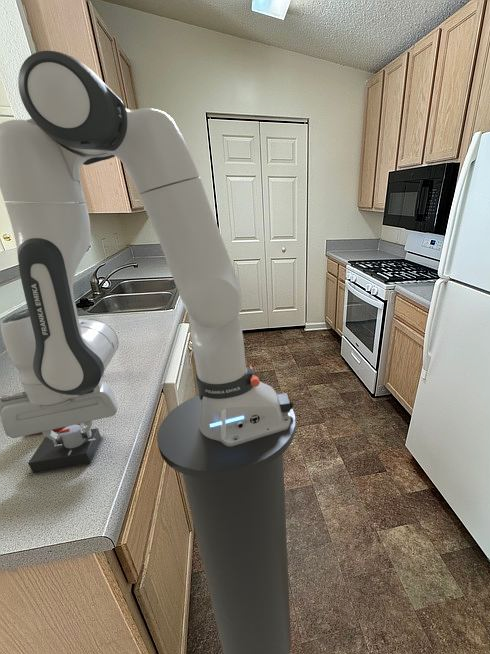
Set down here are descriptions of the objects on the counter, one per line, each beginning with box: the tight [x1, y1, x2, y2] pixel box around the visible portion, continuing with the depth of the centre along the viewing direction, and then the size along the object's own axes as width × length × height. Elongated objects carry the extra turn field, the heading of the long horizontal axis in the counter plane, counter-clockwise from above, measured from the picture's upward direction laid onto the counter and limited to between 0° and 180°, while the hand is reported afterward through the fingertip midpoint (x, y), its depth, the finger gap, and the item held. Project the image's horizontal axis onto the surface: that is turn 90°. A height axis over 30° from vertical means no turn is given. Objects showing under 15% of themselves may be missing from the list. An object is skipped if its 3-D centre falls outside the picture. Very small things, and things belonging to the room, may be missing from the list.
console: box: [27, 427, 102, 474], centre depth 75 cm, size 12×9×3 cm
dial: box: [58, 424, 85, 448], centre depth 74 cm, size 4×4×4 cm
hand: (74, 439), depth 74 cm, fingers closed on dial, 4 cm apart
